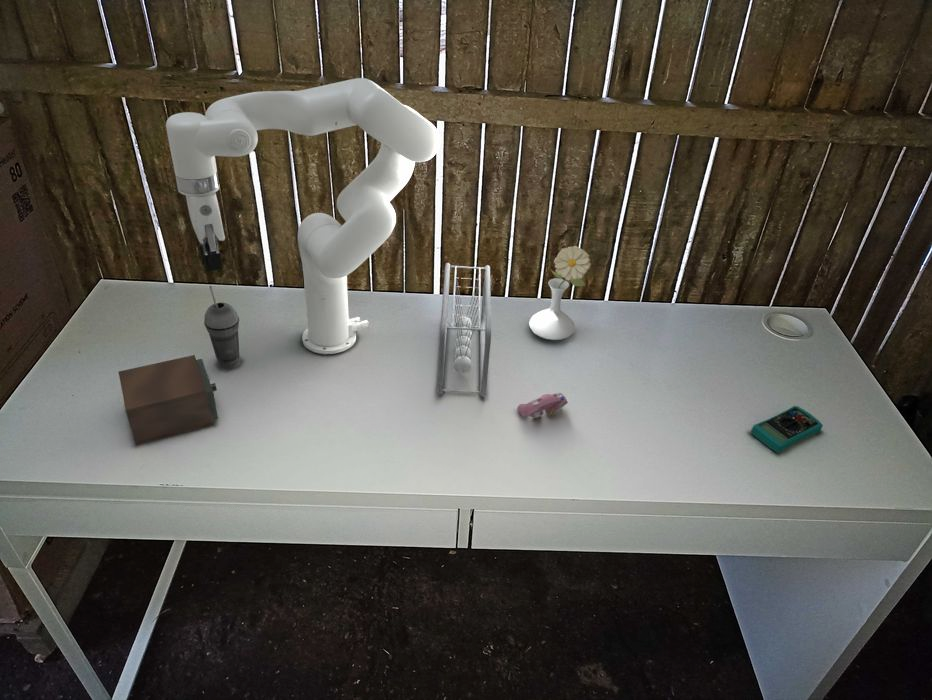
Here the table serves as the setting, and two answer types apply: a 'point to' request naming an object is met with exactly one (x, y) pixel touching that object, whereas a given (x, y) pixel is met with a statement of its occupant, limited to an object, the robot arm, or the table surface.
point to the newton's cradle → (466, 330)
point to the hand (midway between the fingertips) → (212, 265)
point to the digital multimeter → (786, 428)
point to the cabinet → (165, 399)
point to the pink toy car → (542, 405)
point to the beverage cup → (223, 333)
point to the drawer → (208, 389)
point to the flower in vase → (553, 319)
